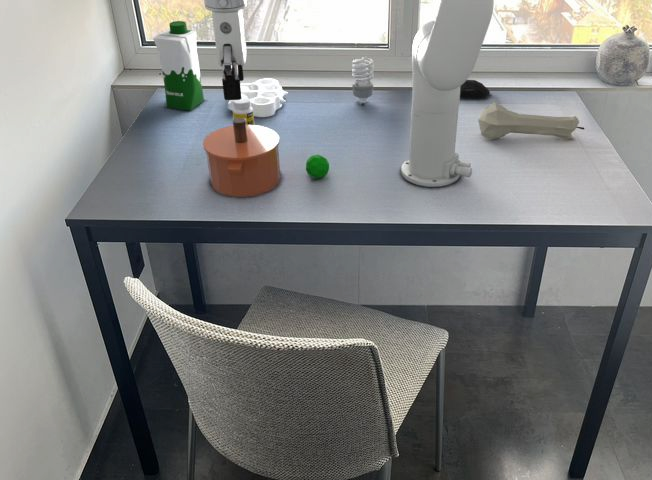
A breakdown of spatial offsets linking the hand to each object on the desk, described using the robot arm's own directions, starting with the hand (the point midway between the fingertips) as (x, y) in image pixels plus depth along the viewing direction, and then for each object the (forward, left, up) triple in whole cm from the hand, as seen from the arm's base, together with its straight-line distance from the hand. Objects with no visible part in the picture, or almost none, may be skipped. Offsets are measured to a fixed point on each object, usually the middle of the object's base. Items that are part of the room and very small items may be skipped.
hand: (234, 89), depth 133 cm
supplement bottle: (+13, -19, -20) cm, 30 cm away
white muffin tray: (+20, -36, -20) cm, 46 cm away
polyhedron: (-13, -8, -20) cm, 25 cm away
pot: (0, 0, -20) cm, 20 cm away
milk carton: (+37, -27, -20) cm, 50 cm away
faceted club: (-49, -46, -20) cm, 70 cm away
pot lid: (0, 0, -11) cm, 11 cm away
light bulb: (-4, -48, -20) cm, 52 cm away
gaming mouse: (-25, -65, -20) cm, 73 cm away
